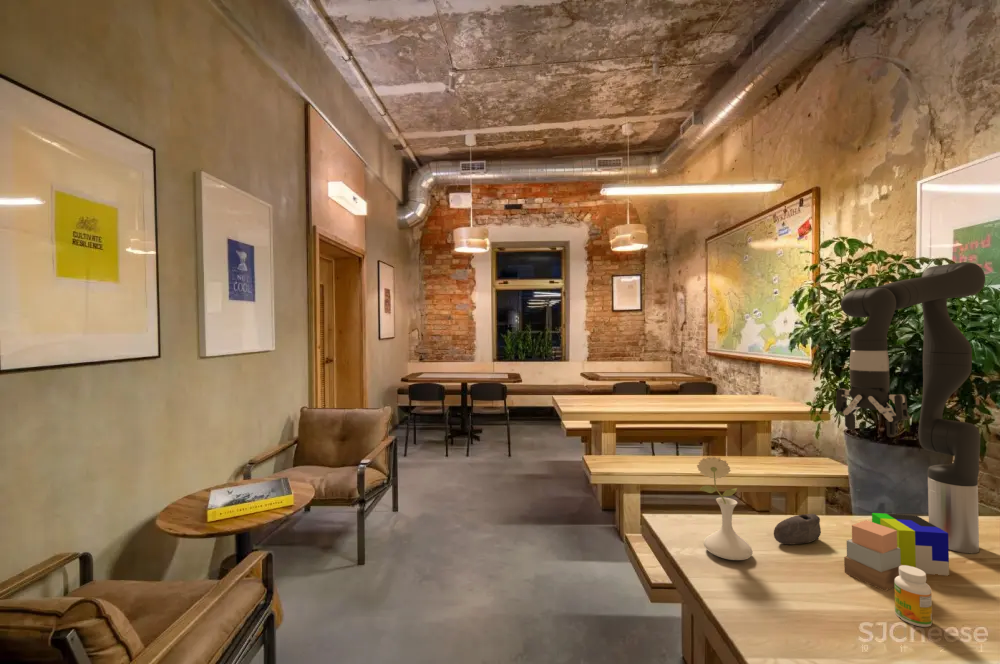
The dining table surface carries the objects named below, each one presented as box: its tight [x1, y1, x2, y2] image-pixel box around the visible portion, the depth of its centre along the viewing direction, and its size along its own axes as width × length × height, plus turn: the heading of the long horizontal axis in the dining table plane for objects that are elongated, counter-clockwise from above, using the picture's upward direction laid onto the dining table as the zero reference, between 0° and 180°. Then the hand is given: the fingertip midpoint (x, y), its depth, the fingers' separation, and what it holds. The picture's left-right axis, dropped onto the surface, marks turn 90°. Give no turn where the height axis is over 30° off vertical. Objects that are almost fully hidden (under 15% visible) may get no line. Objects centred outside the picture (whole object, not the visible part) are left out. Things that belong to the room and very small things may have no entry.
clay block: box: [851, 519, 897, 553], centre depth 101 cm, size 6×6×4 cm
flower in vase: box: [696, 455, 754, 561], centre depth 114 cm, size 13×11×25 cm
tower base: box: [843, 555, 902, 592], centre depth 101 cm, size 8×8×4 cm
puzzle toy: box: [871, 512, 950, 576], centre depth 107 cm, size 10×10×10 cm
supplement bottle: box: [894, 565, 933, 628], centre depth 87 cm, size 5×5×10 cm
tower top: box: [846, 538, 901, 572], centre depth 101 cm, size 7×7×4 cm
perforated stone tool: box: [773, 513, 822, 545], centre depth 119 cm, size 15×5×7 cm, turn 102°
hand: (870, 432), depth 108 cm, fingers open, 8 cm apart
